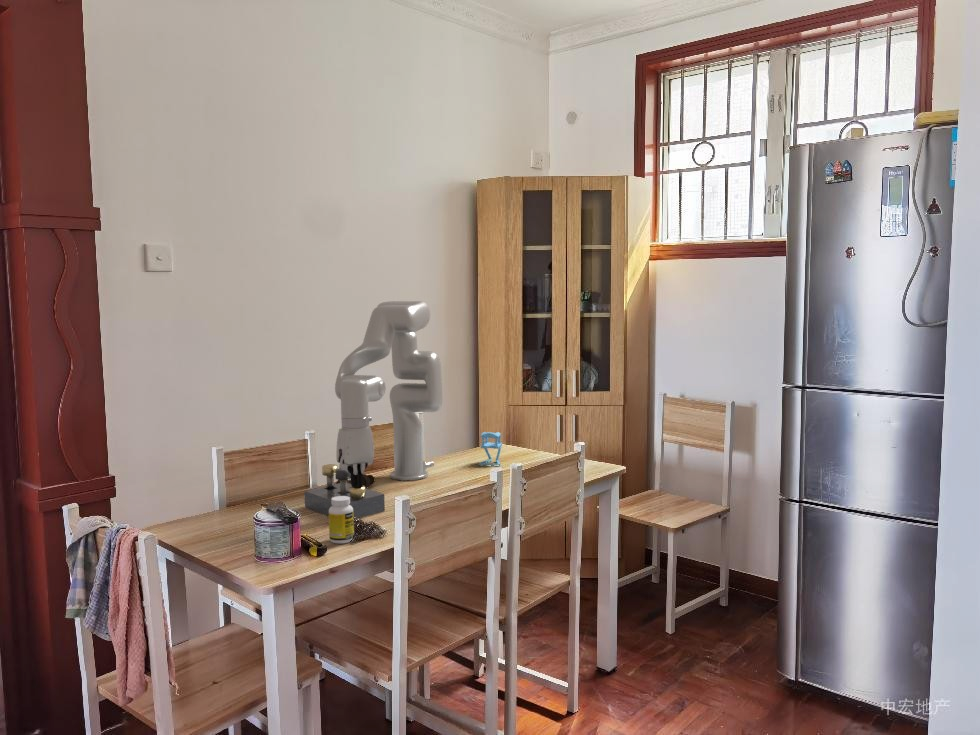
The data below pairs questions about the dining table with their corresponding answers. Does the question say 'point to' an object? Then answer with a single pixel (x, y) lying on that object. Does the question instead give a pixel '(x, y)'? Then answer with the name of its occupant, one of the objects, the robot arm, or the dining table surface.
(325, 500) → the mount
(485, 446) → the chair
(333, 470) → the knob
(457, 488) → the dining table surface
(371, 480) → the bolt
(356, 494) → the knob
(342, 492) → the knob middle
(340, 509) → the pill bottle
